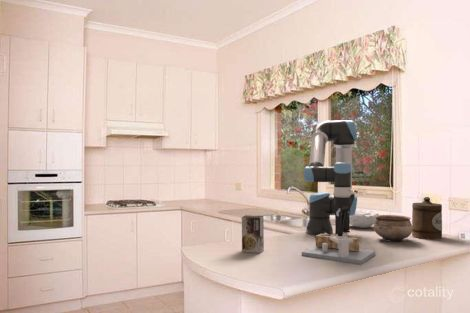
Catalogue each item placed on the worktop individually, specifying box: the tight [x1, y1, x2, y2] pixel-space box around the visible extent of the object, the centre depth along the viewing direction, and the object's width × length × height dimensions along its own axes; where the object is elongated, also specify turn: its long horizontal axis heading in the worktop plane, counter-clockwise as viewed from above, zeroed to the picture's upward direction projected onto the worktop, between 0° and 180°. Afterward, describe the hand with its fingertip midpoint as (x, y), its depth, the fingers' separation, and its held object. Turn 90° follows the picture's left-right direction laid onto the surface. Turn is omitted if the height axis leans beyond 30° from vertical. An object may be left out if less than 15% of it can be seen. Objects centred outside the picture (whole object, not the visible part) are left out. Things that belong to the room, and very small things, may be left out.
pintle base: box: [301, 233, 376, 265], centre depth 171 cm, size 26×21×9 cm
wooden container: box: [411, 196, 443, 240], centre depth 214 cm, size 15×15×22 cm
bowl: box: [350, 209, 380, 229], centre depth 244 cm, size 21×20×10 cm
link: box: [315, 234, 361, 251], centre depth 177 cm, size 18×7×5 cm, turn 55°
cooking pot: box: [373, 214, 413, 243], centre depth 204 cm, size 25×19×12 cm
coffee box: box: [241, 214, 265, 254], centre depth 179 cm, size 9×6×16 cm
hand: (342, 247), depth 176 cm, fingers closed on link, 4 cm apart
